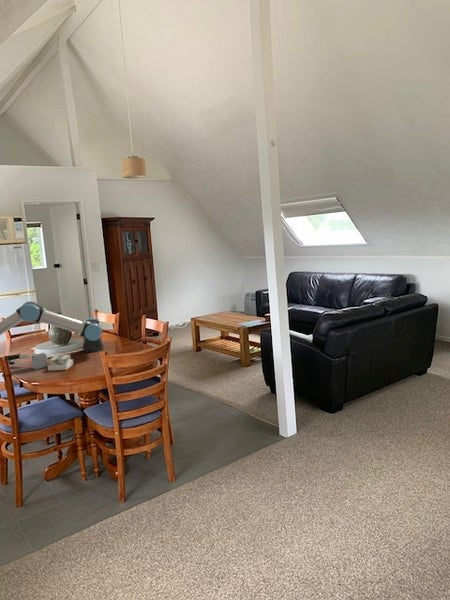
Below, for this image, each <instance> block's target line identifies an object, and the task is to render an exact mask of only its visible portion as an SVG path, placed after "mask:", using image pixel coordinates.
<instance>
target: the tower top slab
mask: <svg viewBox="0 0 450 600" xmlns="http://www.w3.org/2000/svg"><path fill="white" fill-rule="evenodd" d="M71 359H72V358H71V354H61V355H58V354H57V355H53V356H52V357H51V358H50V359H49V364H50V365H63V364H67V363H68V362H69V361H70V360H71Z"/></svg>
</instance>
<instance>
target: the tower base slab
mask: <svg viewBox="0 0 450 600" xmlns="http://www.w3.org/2000/svg"><path fill="white" fill-rule="evenodd" d="M47 365H48V366H47V371H62V370H63V371H64V370H68V369H69V368H70V367H72V366H73V365H74V359H72V358H71V360H70V361H69V362H68V363H67V364H63V365H50V363H49V364H47Z"/></svg>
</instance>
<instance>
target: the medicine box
mask: <svg viewBox="0 0 450 600" xmlns="http://www.w3.org/2000/svg"><path fill="white" fill-rule="evenodd" d="M30 358H31V364H32V369H34V370H40V369H42V368H43V369H44V368H48V365H49V364H48V360H47V359H48V357H47V353H45V352H40V353H37V354H33V355H31V356H30Z"/></svg>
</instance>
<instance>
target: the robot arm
mask: <svg viewBox="0 0 450 600" xmlns="http://www.w3.org/2000/svg"><path fill="white" fill-rule="evenodd" d="M22 322H27V323H34V324H38V325H39V324H42V323H43V324H46V325H49V326H53V327H57V328H60V329H62V330H67V331H70V332H72V333H76V334H78V336H79V337H82V338H83V344H82V352H84V353H95V352H99V351H102V350H104V349H105V346H104V343H103V340H102V338H101V336H102V334H103V328H102V326H101V325H100V320H99V317H94V318H85V319H82V320H79V319H76V318H72V317H69V316H67V315H62V314H59V313H56V312H53V311H51V310H47V309H46V307H45V306H41V305H38V304H37V302H34V301H26V302H24V303H23V304H22V305H21V306H20V307H19V308H17V309H16V310H15V312H14V313H12V314H10V315H9V316H7V317H6V318H4V319H3V320H1V321H0V336H2V335H3V334H4V333H6V332H8V331H9V330H11V329H13V328H14V327H16V326H17V325H19V324H20V323H22ZM3 357H6V358H7V360H8V363H9V366H18V365H19V366H20V365H21V362H20V360H28V359H31V356H30V354H21V353H17V354H11V355H4V356H3ZM19 359H20V360H19Z"/></svg>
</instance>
